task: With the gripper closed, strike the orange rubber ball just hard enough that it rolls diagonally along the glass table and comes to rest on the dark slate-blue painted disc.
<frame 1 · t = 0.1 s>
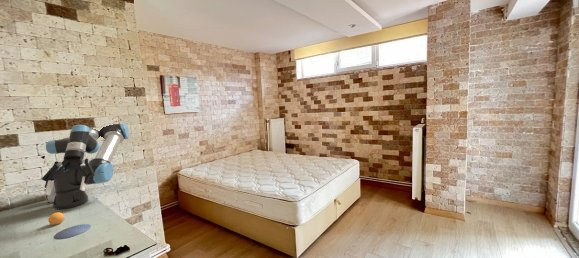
hand: (65, 192, 110), 15 cm above the table, tool tilted 35°, fingers open, 13 cm apart
supplement box: (57, 201, 141), on the table
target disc: (73, 231, 103), on the table
ball: (56, 218, 111), on the table
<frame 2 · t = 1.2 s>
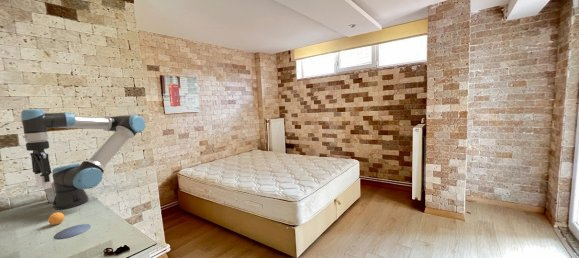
hand: (44, 187, 114), 17 cm above the table, tool pointing down, fingers open, 7 cm apart
nothing on the table moved.
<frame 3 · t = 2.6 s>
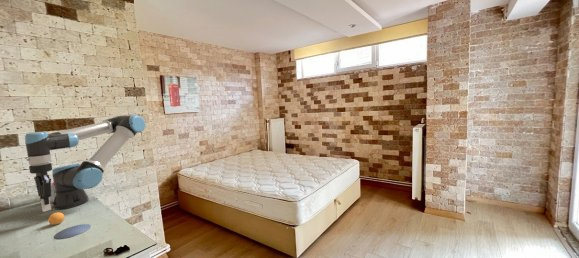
hand: (46, 210, 115), 5 cm above the table, tool pointing down, fingers closed
nothing on the table moved.
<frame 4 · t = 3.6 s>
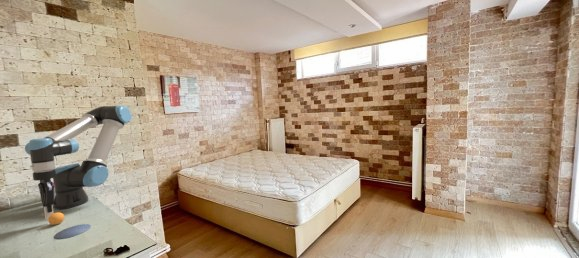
hand: (49, 218, 112), 3 cm above the table, tool pointing down, fingers closed
nothing on the table moved.
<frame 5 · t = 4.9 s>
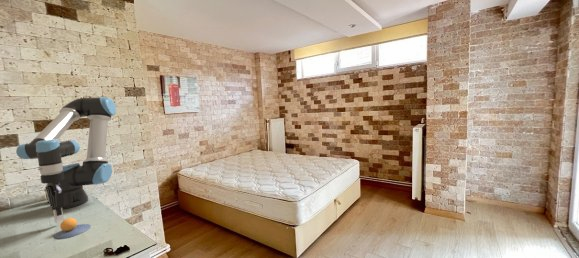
hand: (59, 221, 110), 2 cm above the table, tool pointing down, fingers closed
ball: (68, 224, 104), on the table
everything else where it was.
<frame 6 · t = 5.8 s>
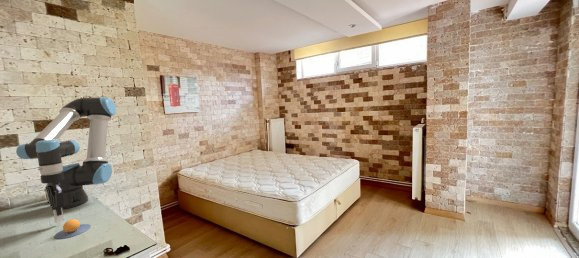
hand: (59, 221, 110), 2 cm above the table, tool pointing down, fingers closed
ball: (71, 225, 103), on the table
everything else where it was.
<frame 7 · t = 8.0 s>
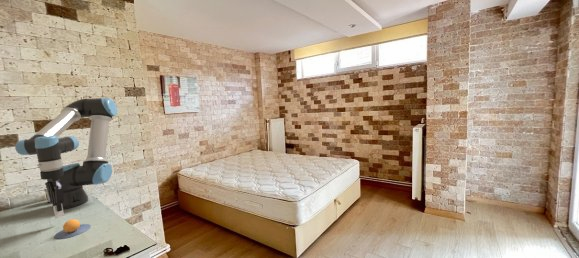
hand: (59, 217, 110), 4 cm above the table, tool pointing down, fingers closed
nothing on the table moved.
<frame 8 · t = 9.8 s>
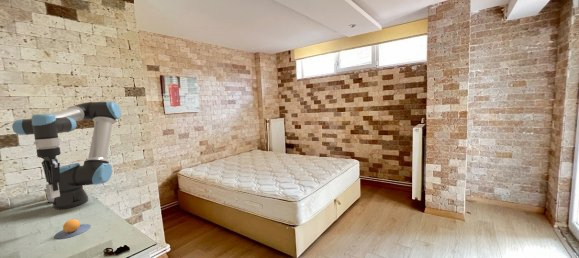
hand: (55, 197, 108), 14 cm above the table, tool pointing down, fingers closed
nothing on the table moved.
at the end: ball 0.4 cm from the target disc (horizontally); ball at rest at the end (0.0 cm/s); ball moved 17.2 cm from its start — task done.
